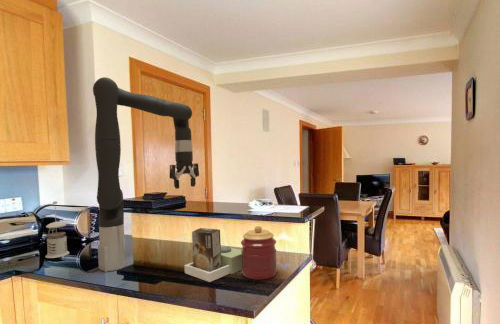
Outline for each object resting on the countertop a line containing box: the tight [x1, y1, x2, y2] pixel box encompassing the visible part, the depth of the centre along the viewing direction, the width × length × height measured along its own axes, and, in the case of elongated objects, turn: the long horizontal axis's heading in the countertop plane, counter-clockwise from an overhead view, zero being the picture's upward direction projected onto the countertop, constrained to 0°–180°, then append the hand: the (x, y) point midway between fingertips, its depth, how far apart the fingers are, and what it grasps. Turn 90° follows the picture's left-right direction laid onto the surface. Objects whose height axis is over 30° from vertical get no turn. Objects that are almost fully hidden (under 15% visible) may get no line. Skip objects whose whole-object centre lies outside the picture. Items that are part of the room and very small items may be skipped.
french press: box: [44, 200, 70, 259], centre depth 148 cm, size 10×12×25 cm
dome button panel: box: [184, 244, 242, 283], centre depth 121 cm, size 19×16×7 cm
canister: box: [240, 225, 278, 281], centre depth 116 cm, size 13×13×18 cm
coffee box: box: [191, 227, 222, 272], centre depth 118 cm, size 9×6×16 cm
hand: (185, 187), depth 140 cm, fingers open, 8 cm apart
